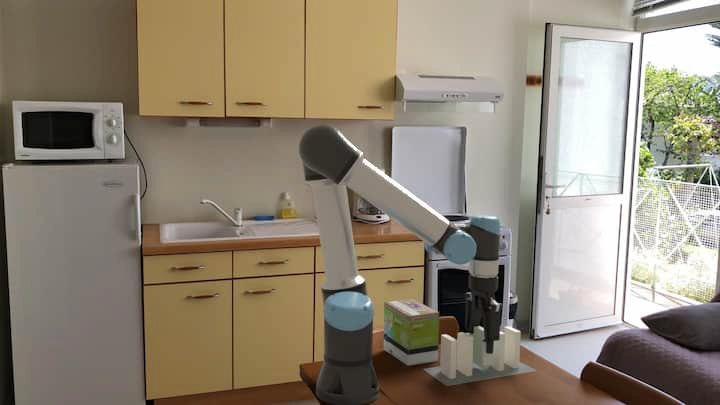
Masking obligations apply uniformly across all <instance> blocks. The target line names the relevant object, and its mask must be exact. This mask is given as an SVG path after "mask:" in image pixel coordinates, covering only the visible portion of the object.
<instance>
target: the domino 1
mask: <svg viewBox="0 0 720 405" xmlns="http://www.w3.org/2000/svg"><path fill="white" fill-rule="evenodd" d="M439 358H440V361H439V362H440V364H439V366H440V372H441V373H442V374H444V375H445V376H447V377H448V378H449V379H453V378H456V364H457V338H456V339H455V338H454V337H452V336H450V335H449V334H441V335H440V357H439Z"/></svg>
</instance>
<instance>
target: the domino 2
mask: <svg viewBox="0 0 720 405" xmlns="http://www.w3.org/2000/svg"><path fill="white" fill-rule="evenodd" d="M456 336H457V338H456V340H457V350H456V370H458V371H459V372H461V373H463V374H464V375H466V376H472V364H473V337H471V336H470V334H467V333H465V332H464V331H463V332H462V331H461V332H457V335H456Z"/></svg>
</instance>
